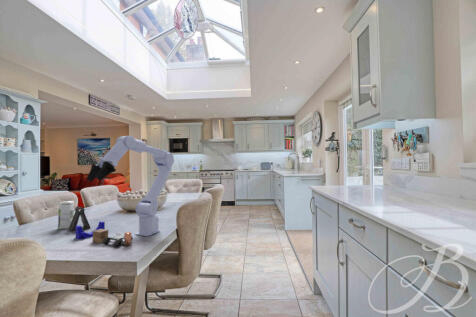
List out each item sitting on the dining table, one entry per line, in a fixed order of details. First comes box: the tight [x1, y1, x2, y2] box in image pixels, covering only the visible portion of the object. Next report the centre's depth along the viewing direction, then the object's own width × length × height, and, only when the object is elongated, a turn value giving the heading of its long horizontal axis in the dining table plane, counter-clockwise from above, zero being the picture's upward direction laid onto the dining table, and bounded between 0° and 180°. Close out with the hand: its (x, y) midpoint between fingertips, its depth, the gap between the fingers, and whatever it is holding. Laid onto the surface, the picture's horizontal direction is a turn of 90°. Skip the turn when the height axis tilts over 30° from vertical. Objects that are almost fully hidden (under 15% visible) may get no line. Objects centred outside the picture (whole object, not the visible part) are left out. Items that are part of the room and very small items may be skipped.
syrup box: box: [57, 200, 75, 230], centre depth 138 cm, size 6×6×14 cm
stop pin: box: [121, 231, 132, 247], centre depth 109 cm, size 3×8×5 cm, turn 66°
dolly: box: [102, 233, 134, 248], centre depth 110 cm, size 9×8×3 cm
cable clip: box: [75, 220, 106, 240], centre depth 122 cm, size 12×4×6 cm, turn 141°
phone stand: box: [68, 206, 91, 233], centre depth 135 cm, size 9×6×12 cm, turn 137°
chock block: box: [92, 228, 109, 244], centre depth 113 cm, size 4×5×5 cm
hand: (93, 179), depth 102 cm, fingers open, 7 cm apart
